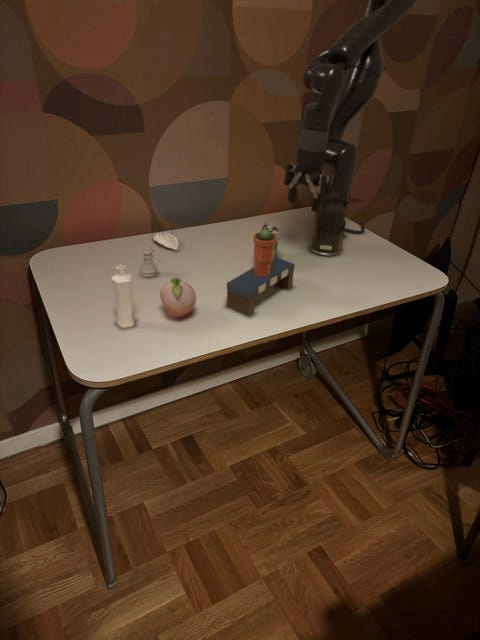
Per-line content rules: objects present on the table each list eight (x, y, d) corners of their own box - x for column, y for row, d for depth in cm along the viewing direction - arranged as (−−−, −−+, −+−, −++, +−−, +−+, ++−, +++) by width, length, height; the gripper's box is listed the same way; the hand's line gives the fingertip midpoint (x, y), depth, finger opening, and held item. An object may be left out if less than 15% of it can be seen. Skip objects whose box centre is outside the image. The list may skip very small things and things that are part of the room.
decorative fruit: (200, 322, 121) (200, 286, 115) (167, 328, 118) (165, 291, 113) (190, 303, 128) (189, 268, 122) (158, 307, 125) (156, 272, 120)
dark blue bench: (271, 278, 141) (273, 256, 137) (292, 287, 137) (295, 264, 133) (226, 306, 127) (226, 282, 123) (248, 317, 124) (250, 292, 120)
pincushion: (185, 249, 154) (184, 231, 151) (167, 253, 151) (167, 236, 148) (164, 235, 162) (163, 218, 159) (147, 239, 158) (146, 222, 155)
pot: (262, 265, 132) (265, 222, 125) (278, 273, 128) (282, 230, 122) (246, 272, 128) (248, 228, 122) (262, 280, 125) (265, 235, 118)
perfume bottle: (117, 318, 121) (111, 262, 113) (135, 317, 121) (131, 262, 113) (114, 328, 117) (108, 271, 109) (134, 328, 117) (129, 271, 109)
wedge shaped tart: (275, 272, 144) (278, 240, 138) (254, 269, 145) (256, 237, 139) (281, 254, 154) (284, 223, 148) (261, 251, 155) (263, 221, 149)
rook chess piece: (160, 272, 141) (158, 246, 136) (151, 279, 137) (149, 252, 133) (146, 269, 142) (145, 243, 138) (137, 275, 139) (135, 249, 134)
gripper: (342, 152, 130) (331, 212, 139) (301, 140, 139) (293, 197, 147) (324, 154, 126) (313, 216, 134) (283, 142, 134) (275, 201, 143)
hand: (302, 206), depth 141 cm, fingers open, 8 cm apart
